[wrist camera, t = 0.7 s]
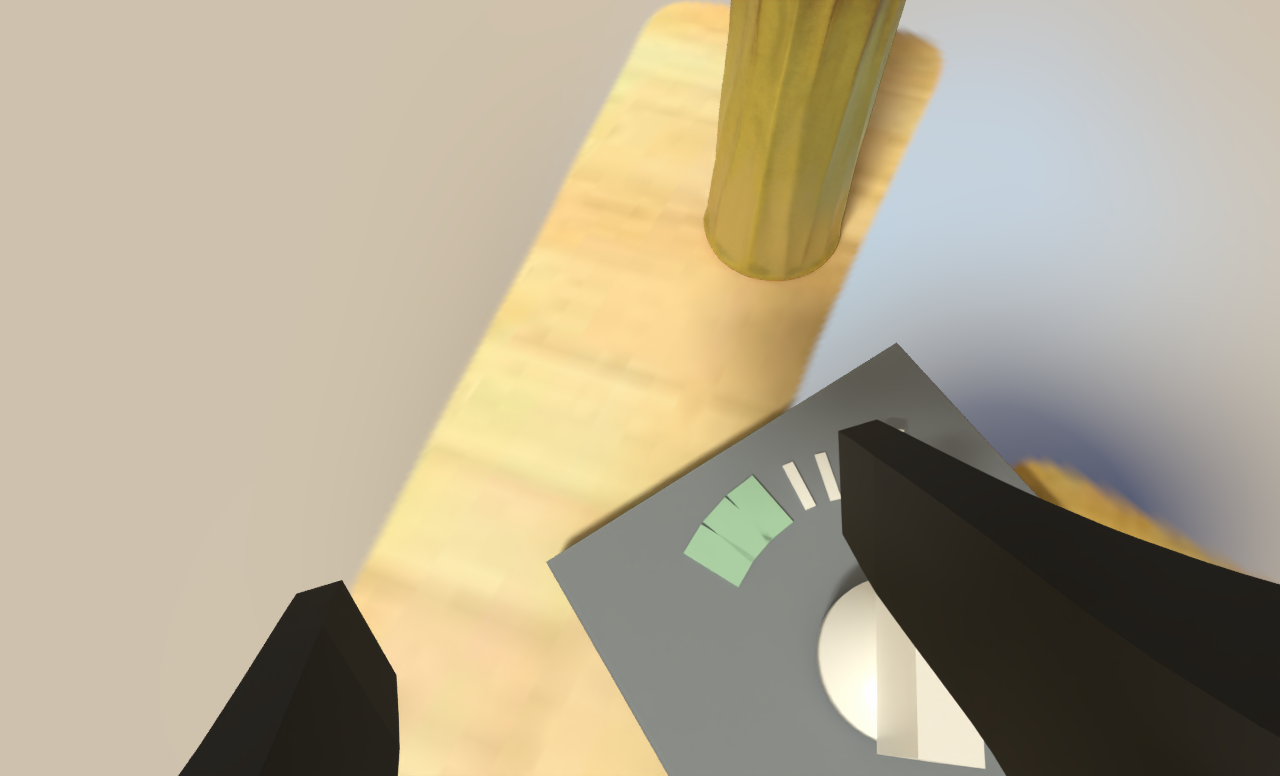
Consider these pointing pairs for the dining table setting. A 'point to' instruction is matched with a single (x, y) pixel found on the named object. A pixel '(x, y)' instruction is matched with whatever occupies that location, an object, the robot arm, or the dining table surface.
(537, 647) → the dining table surface
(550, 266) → the dining table surface
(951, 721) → the knob
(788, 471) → the dial board
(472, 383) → the dining table surface
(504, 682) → the dining table surface
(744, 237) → the vase
